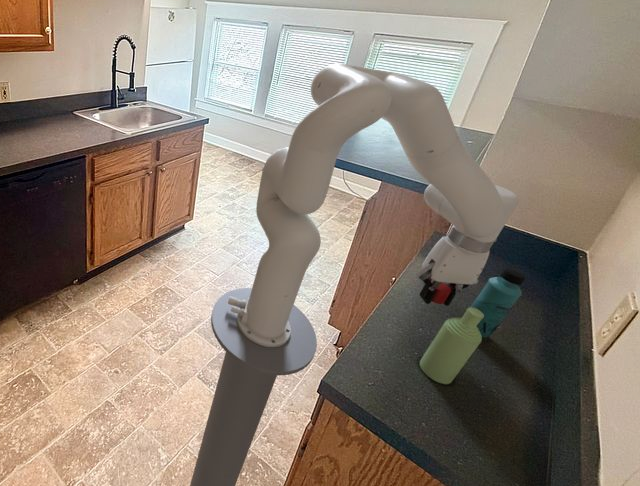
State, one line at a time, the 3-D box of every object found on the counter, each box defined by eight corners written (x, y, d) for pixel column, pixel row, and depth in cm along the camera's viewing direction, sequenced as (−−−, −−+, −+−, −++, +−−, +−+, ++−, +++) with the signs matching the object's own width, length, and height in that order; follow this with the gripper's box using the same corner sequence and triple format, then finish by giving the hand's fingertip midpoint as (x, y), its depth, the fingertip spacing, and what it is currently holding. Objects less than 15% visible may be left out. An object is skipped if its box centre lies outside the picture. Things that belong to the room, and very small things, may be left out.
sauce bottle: (422, 376, 83) (462, 317, 74) (417, 354, 88) (453, 296, 80) (456, 388, 81) (500, 329, 73) (448, 364, 87) (489, 306, 78)
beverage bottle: (451, 322, 98) (490, 263, 89) (471, 320, 100) (512, 261, 91) (474, 344, 93) (518, 282, 83) (495, 341, 94) (541, 280, 85)
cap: (441, 294, 92) (448, 283, 90) (447, 306, 89) (454, 294, 87) (423, 290, 93) (429, 278, 91) (428, 301, 89) (435, 289, 88)
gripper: (494, 232, 86) (457, 292, 94) (421, 225, 86) (391, 286, 94) (521, 253, 79) (478, 316, 88) (442, 245, 79) (407, 309, 88)
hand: (433, 299), depth 91 cm, fingers closed on cap, 3 cm apart
